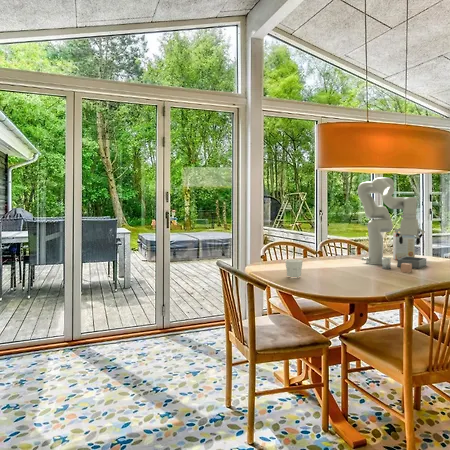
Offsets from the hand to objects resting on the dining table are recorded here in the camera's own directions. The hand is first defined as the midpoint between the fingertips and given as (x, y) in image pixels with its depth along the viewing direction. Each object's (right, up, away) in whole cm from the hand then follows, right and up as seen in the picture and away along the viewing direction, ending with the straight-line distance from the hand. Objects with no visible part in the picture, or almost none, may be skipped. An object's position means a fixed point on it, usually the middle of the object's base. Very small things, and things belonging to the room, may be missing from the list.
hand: (409, 244), depth 236 cm
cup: (-76, -19, -15) cm, 79 cm away
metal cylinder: (-10, -17, +11) cm, 22 cm away
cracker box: (+19, -15, +49) cm, 54 cm away
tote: (+11, -16, +20) cm, 28 cm away
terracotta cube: (-2, -17, 0) cm, 18 cm away
